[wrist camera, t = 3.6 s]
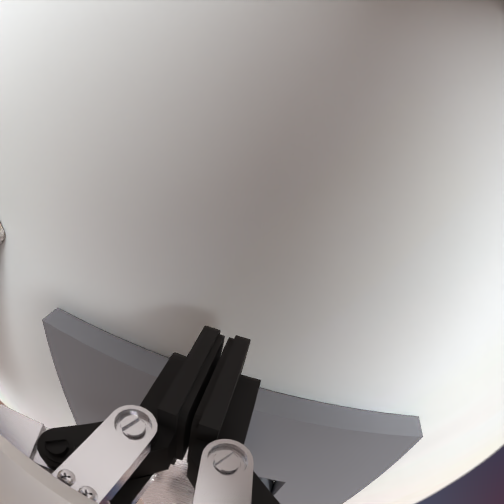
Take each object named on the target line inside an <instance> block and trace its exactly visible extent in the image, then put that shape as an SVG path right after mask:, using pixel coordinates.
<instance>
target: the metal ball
mask: <svg viewBox="0 0 504 504" xmlns="http://www.w3.org/2000/svg"><path fill="white" fill-rule="evenodd" d="M188 448H189V447H188ZM187 455H188V449H187V452H186V454H185V456H184V458H183V460H179V459H177V460H176V462H175V465H172V464H170V467H169V469H168V470H165V471H161V472H159V473H158V475H157V476H156V478H155V479H154V480H153V482H152V483H151V484H150V486H149V487H148V488H147V490H146V491H145V492H144V494H143V495H142V496H141V500H142V502H143V504H192V498H193V493H194V488H193V486H192V484H191V483H190V481H189V479H188V478H187V470H188V463H187Z"/></svg>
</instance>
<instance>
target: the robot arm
mask: <svg viewBox="0 0 504 504" xmlns="http://www.w3.org/2000/svg"><path fill="white" fill-rule="evenodd" d="M224 338H225V336H223V335H220V330H218V329H215V328H211V327H208V326H205V327H204V328H203V330H202V332H201V333H200V335H199V337H198V339H197V340H196V342H195V344H194V346H193V347H192V349H191V351H190V352H189V354H188V356H187V357H186V356H183V355H180V354H178V353H173V354H172V355H171V357H170V358H169V360H168V362H167V363H166V365H165V366H164V368H163V369H162V371H161V373H160V374H159V376H158V377H157V379H156V380H155V382H154V384H153V385H152V387H151V388H150V390H149V391H148V393H147V395H146V396H145V398H144V399H143V401H142V402H141V404H140V406H136V405H125V406H122V407H119V408H118V409H116V410H115V411H114V412H113V413H112V414H111V415H110V416H109V417H108V418H107V419H106V420H105V421H101V422H95V423H89V424H82V425H75V426H68V427H59V428H52V429H49V428H47V427H45V426H44V424H42V423H40V422H37V421H35V420H33V419H31V418H29V417H26V416H24V415H22V414H20V413H18V412H16V411H14V410H12V409H10V408H8V407H6V406H4V405H1V404H0V504H136V503H137V502H138V500H139V499H140V498H141V496H142V495H143V494H144V492H145V491H146V490H147V488H148V487H149V486H150V484H151V483H152V482H153V480H154V479H155V478H156V476H157V475H158V473H159V472H161V471H165V470H168V469H169V467H170V464H172V465H175V462H176V460H177V459H179V460H183V458H184V456H185V454H186V452H187V449H188V455H187V463H188V470H187V478H188V479H189V481H190V483H191V484H192V486H193V488H194V493H193V498H192V504H280V503H279V502H278V500H277V499H276V498H275V497H274V496H273V494H272V493H271V492H270V491H269V490H268V488H267V487H266V486H265V485H264V483H263V482H262V481H261V480H260V478H259V477H258V476H257V475H256V473H255V472H254V471H253V465H254V462H253V456H252V454H251V452H250V450H249V449H247V448H246V447H245V446H244V442H245V439H246V435H247V432H248V428H249V424H250V421H251V417H252V413H253V409H254V406H255V402H256V398H257V394H258V390H259V386H260V382H261V380H258V379H255V378H251V377H248V376H244V375H241V372H242V369H243V365H244V362H245V358H246V355H247V351H248V348H249V344H250V341H251V340H250V339H247V338H244V337H240V336H237V335H236V336H235V339H233V338H230V337H229V338H228V341H227V343H226V345H225V347H224V350H223V352H222V347H223V343H224ZM221 352H222V354H221ZM188 447H189V448H188Z"/></svg>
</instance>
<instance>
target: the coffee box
mask: <svg viewBox="0 0 504 504" xmlns="http://www.w3.org/2000/svg"><path fill="white" fill-rule="evenodd" d="M4 237H5V233H4V230H3V228H2V225H1V223H0V244H1V242H2V241H3V239H4Z"/></svg>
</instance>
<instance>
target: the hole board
mask: <svg viewBox="0 0 504 504" xmlns="http://www.w3.org/2000/svg"><path fill="white" fill-rule="evenodd" d="M42 321H43V325H44V329H45V333H46V337H47V341H48V344H49V348H50V351H51V355H52V358H53V361H54V365H55V368H56V371H57V374H58V377H59V380H60V383H61V385H62V388H63V391H64V394H65V396H66V399H67V402H68V404H69V407H70V409H71V412H72V414H73V417H74V419H75V421H76V424H77V425H82V424H89V423H95V422H101V421H105V420H106V419H107V418H108V417H109V416H110V415H111V414H112V413H113V412H114V411H115V410H116V409H118V408H119V407H122V406H125V405H136V406H140V404H141V402H142V401H143V399H144V398H145V396H146V395H147V393H148V391H149V390H150V388H151V387H152V385H153V384H154V382H155V380H156V379H157V377H158V376H159V374H160V373H161V371H162V369H163V368H164V366H165V365H166V363H167V362H168V360H169V358H167V357H164V356H162V355H159V354H157V353H154V352H152V351H149V350H147V349H144V348H142V347H139V346H137V345H135V344H132V343H130V342H128V341H125V340H123V339H121V338H119V337H116V336H114V335H112V334H110V333H107V332H105V331H103V330H101V329H99V328H97V327H95V326H93V325H91V324H89V323H87V322H85V321H83V320H81V319H79V318H77V317H75V316H73V315H71V314H69V313H67V312H65V311H63V310H61V309H59V308H56V309H55V310H54V311H53V312H51V313H50V314H49V315H48V316H47V317H45V318H44V319H43V320H42ZM422 437H423V435H422V430H421V425H420V421H419V417H417V416H406V415H397V414H388V413H381V412H373V411H367V410H360V409H354V408H348V407H342V406H337V405H331V404H326V403H321V402H316V401H312V400H307V399H303V398H298V397H294V396H290V395H285V394H281V393H277V392H273V391H270V390H266V389H262V388H259V390H258V394H257V398H256V402H255V406H254V409H253V413H252V417H251V421H250V424H249V428H248V432H247V435H246V439H245V442H244V446H245V447H246V448H247V449H249V450H250V452H251V454H252V456H253V462H254V465H253V471H254V472H255V473H256V475H257V476H258V477H259V478H260V480H261V481H262V482H263V483H264V485H265V486H266V487H267V488H268V490H269V491H270V492H271V493H272V494H273V496H274V497H275V498H276V499H277V500H278V502H279V503H280V504H343V503H344V502H346V501H347V500H348V499H350V498H351V497H353V496H354V495H355V494H357V493H358V492H360V491H361V490H362V489H364V488H365V487H366V486H368V485H369V484H370V483H371V482H373V481H374V480H375V479H376V478H378V477H379V476H380V475H381V474H383V473H384V472H385V471H386V470H387V469H389V468H390V467H391V466H392V465H393V464H394V463H396V462H397V461H398V460H399V459H400V458H401V457H402V456H403V455H404V454H406V453H407V452H408V451H409V450H410V449H411V448H412V447H413V446H414V445H415V444H416V443H417V442H418V441H419V440H420V439H421V438H422ZM271 480H276V481H275V483H274V484H273V482H272V481H271Z"/></svg>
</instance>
